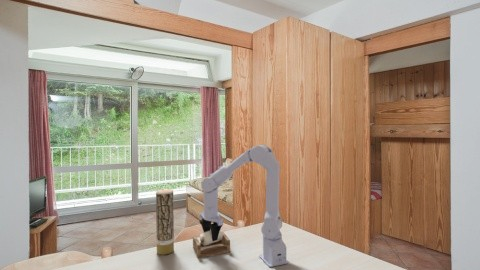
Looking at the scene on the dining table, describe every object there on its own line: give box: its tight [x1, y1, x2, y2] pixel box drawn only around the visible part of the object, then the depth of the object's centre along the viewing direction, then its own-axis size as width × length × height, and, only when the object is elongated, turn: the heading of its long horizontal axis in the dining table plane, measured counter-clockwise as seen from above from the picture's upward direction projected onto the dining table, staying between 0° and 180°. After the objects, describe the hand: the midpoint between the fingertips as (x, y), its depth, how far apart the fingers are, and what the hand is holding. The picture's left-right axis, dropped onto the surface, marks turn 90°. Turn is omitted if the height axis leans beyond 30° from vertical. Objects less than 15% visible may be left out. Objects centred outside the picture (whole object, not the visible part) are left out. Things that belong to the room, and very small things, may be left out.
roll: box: [199, 229, 223, 246], centre depth 108 cm, size 5×8×5 cm, turn 131°
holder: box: [192, 231, 231, 259], centre depth 108 cm, size 10×13×5 cm
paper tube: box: [155, 188, 175, 256], centre depth 107 cm, size 7×7×25 cm
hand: (211, 238), depth 108 cm, fingers closed on roll, 5 cm apart
